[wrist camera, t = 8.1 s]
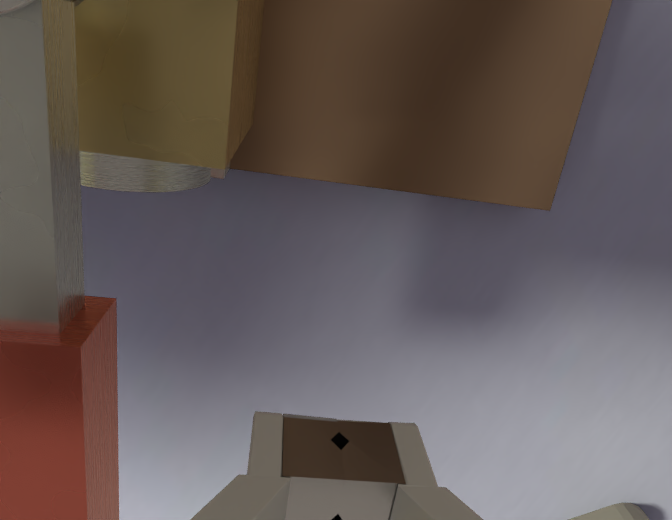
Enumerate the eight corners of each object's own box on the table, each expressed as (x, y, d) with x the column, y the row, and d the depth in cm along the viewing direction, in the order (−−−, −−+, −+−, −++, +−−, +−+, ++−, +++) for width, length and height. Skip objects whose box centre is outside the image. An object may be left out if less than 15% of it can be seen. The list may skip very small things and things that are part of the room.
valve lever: (-129, -257, 6) (-259, -350, 5) (117, -210, 7) (66, -285, 5) (-20, 556, 11) (-71, 637, 9) (124, 562, 11) (97, 641, 10)
